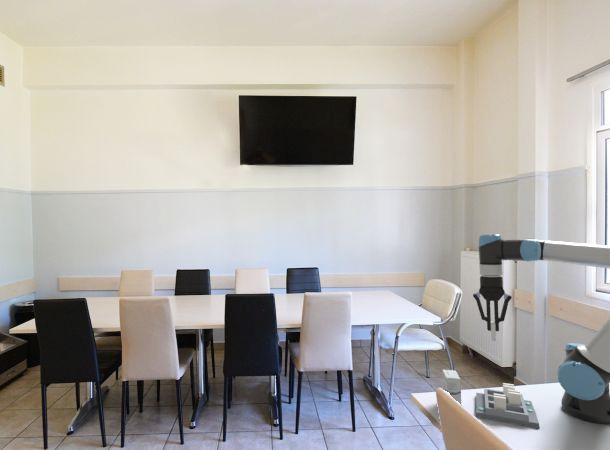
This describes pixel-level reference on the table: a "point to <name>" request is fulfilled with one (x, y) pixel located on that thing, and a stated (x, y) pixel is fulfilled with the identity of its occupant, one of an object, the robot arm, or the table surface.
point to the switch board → (511, 414)
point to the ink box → (452, 384)
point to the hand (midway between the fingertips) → (493, 339)
